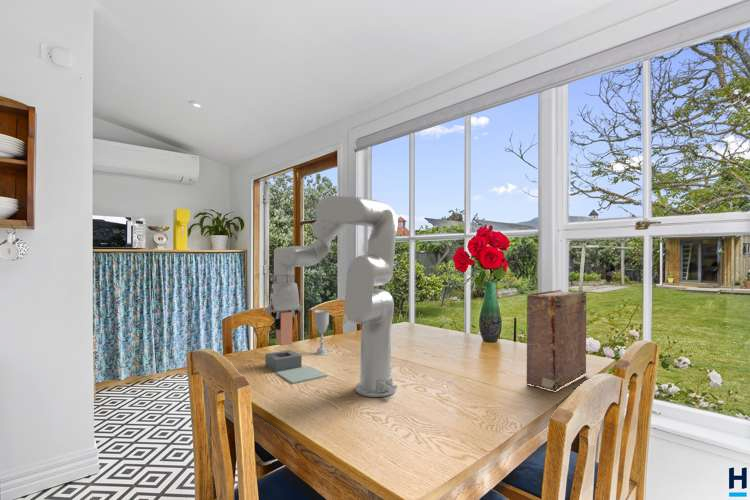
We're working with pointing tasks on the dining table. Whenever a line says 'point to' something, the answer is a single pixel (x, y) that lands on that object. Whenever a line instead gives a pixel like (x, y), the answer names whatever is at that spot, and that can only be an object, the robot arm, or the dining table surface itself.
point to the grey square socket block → (283, 360)
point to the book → (555, 338)
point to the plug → (284, 329)
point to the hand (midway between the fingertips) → (284, 327)
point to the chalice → (321, 327)
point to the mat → (301, 374)
